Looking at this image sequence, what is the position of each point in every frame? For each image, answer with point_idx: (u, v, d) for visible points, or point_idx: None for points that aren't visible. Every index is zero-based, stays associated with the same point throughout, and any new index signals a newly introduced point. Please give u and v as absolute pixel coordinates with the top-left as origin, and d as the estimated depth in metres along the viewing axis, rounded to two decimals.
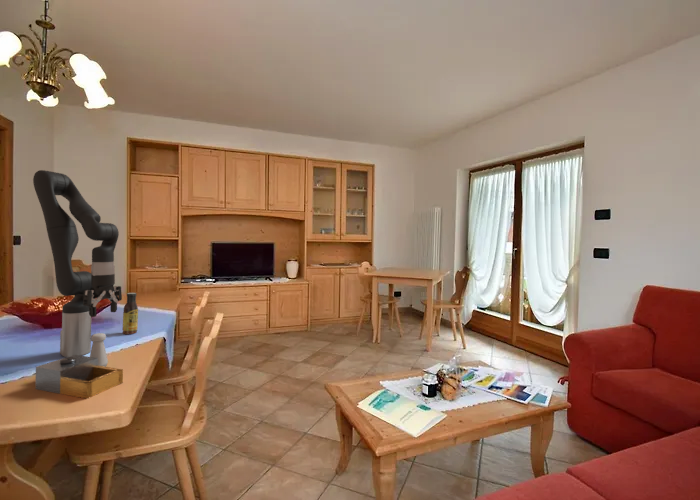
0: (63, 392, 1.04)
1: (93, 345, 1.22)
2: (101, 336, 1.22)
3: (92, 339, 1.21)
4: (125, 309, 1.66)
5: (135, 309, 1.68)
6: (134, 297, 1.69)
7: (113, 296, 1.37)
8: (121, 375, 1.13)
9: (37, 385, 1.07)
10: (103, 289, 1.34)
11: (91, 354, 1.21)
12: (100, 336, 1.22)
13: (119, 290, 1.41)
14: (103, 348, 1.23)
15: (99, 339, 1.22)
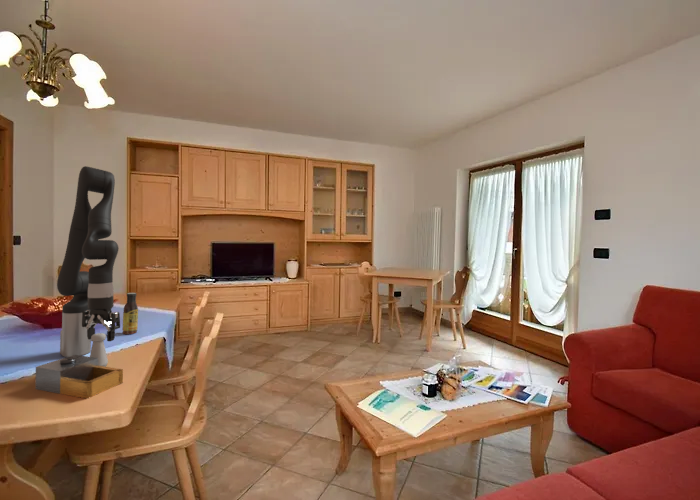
0: (63, 392, 1.04)
1: (93, 345, 1.22)
2: (101, 336, 1.22)
3: (92, 339, 1.21)
4: (125, 309, 1.66)
5: (135, 309, 1.68)
6: (134, 297, 1.69)
7: None
8: (121, 375, 1.13)
9: (37, 385, 1.07)
10: None
11: (91, 354, 1.21)
12: (100, 336, 1.22)
13: None
14: (103, 348, 1.23)
15: (99, 339, 1.22)
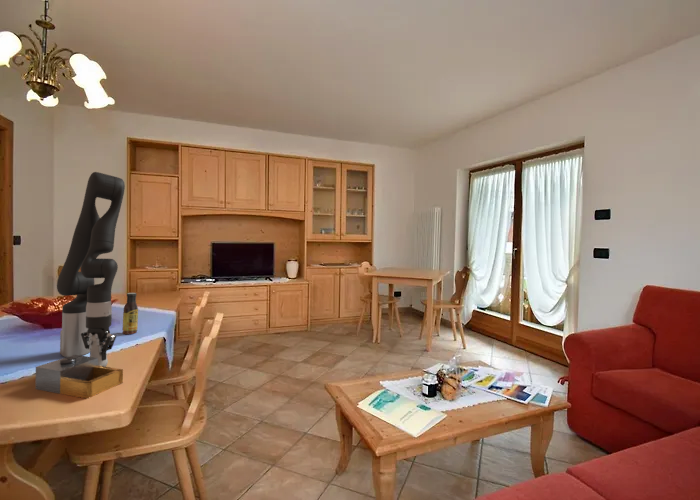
0: (63, 392, 1.04)
1: (93, 345, 1.22)
2: None
3: (92, 339, 1.21)
4: (125, 309, 1.66)
5: (135, 309, 1.68)
6: (134, 297, 1.69)
7: None
8: (121, 375, 1.13)
9: (37, 385, 1.07)
10: None
11: (91, 354, 1.21)
12: None
13: None
14: None
15: None
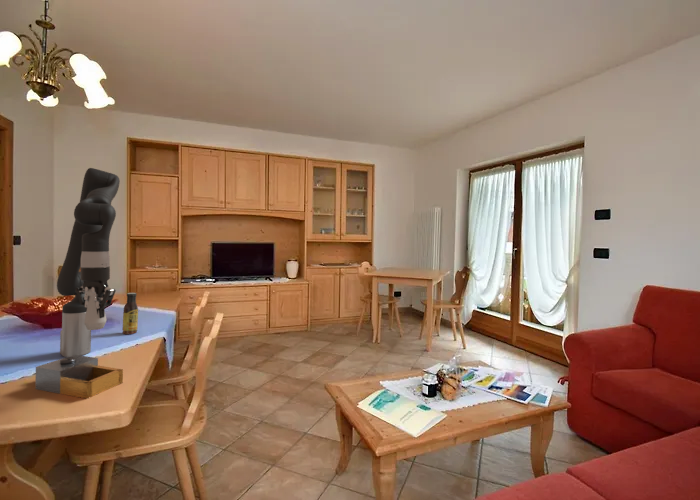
0: (63, 392, 1.04)
1: (90, 300, 1.08)
2: None
3: (88, 293, 1.08)
4: (125, 309, 1.66)
5: (135, 309, 1.68)
6: (134, 297, 1.69)
7: None
8: (121, 375, 1.13)
9: (37, 385, 1.07)
10: None
11: (88, 310, 1.08)
12: None
13: None
14: None
15: None
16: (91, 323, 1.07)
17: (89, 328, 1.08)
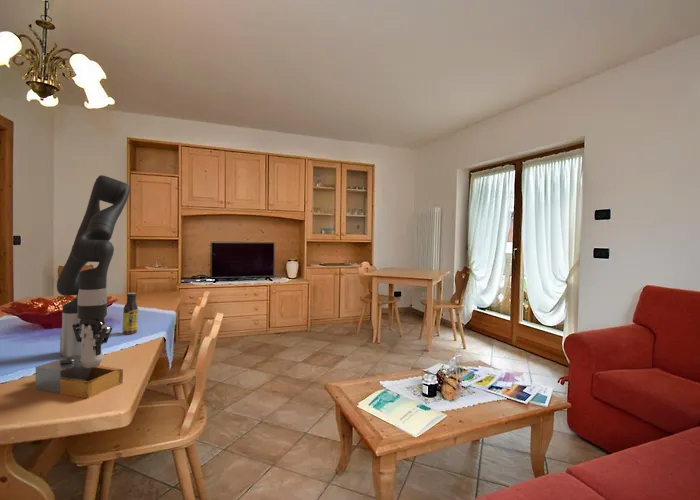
0: (63, 392, 1.04)
1: (86, 338, 1.07)
2: None
3: (85, 331, 1.07)
4: (125, 309, 1.66)
5: (135, 309, 1.68)
6: (134, 297, 1.69)
7: None
8: (121, 375, 1.13)
9: (37, 385, 1.07)
10: None
11: (84, 348, 1.07)
12: None
13: None
14: None
15: None
16: (87, 361, 1.06)
17: (85, 366, 1.07)
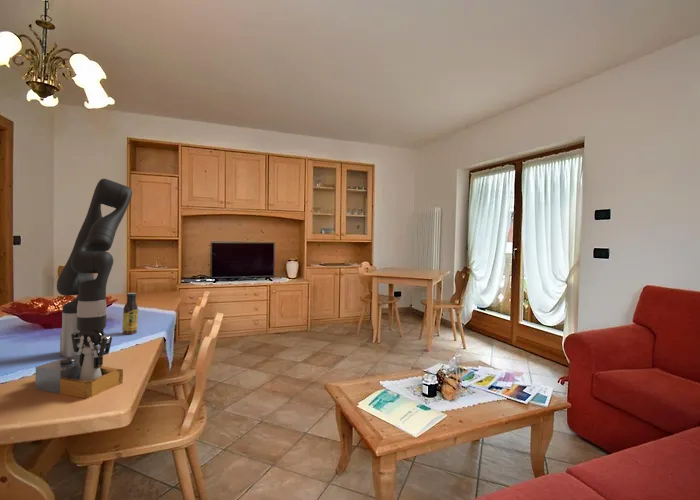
0: (63, 392, 1.04)
1: (85, 358, 1.08)
2: None
3: (83, 352, 1.07)
4: (125, 309, 1.66)
5: (135, 309, 1.68)
6: (134, 297, 1.69)
7: None
8: (121, 375, 1.13)
9: (37, 385, 1.07)
10: None
11: (82, 369, 1.07)
12: None
13: None
14: None
15: (91, 352, 1.07)
16: None
17: None
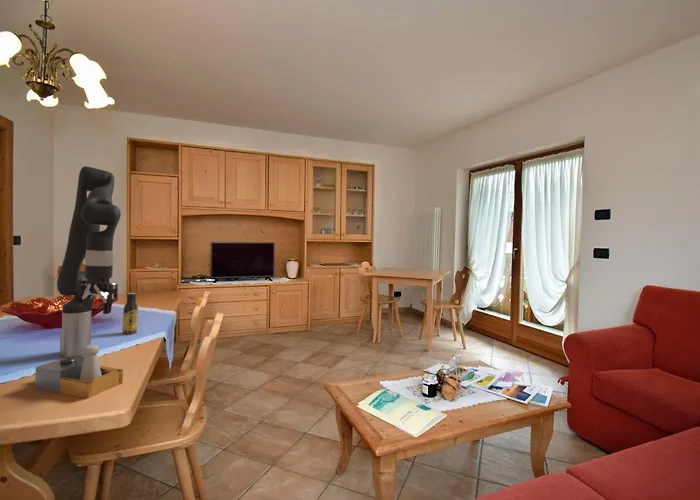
0: (63, 392, 1.04)
1: (85, 358, 1.08)
2: (93, 348, 1.08)
3: (84, 352, 1.07)
4: (125, 309, 1.66)
5: (135, 309, 1.68)
6: (134, 297, 1.69)
7: None
8: (121, 375, 1.13)
9: (37, 385, 1.07)
10: None
11: (82, 369, 1.07)
12: (93, 348, 1.08)
13: None
14: (96, 361, 1.09)
15: (91, 352, 1.07)
16: None
17: None
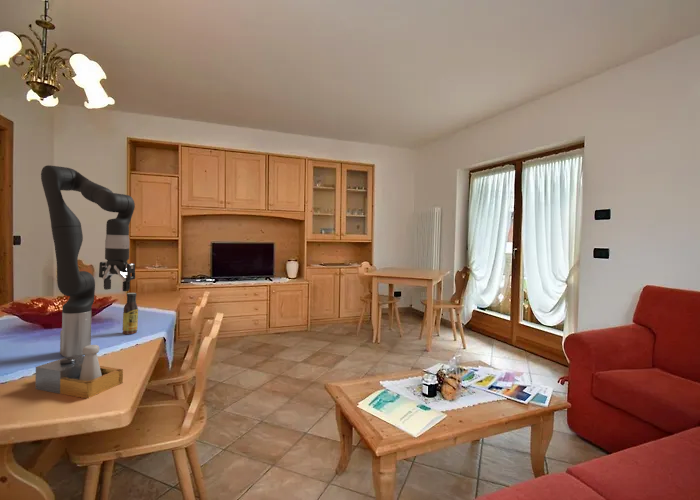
0: (63, 392, 1.04)
1: (85, 358, 1.08)
2: (93, 348, 1.08)
3: (84, 352, 1.07)
4: (125, 309, 1.66)
5: (135, 309, 1.68)
6: (134, 297, 1.69)
7: None
8: (121, 375, 1.13)
9: (37, 385, 1.07)
10: None
11: (82, 369, 1.07)
12: (93, 348, 1.08)
13: None
14: (96, 361, 1.09)
15: (91, 352, 1.07)
16: None
17: None
